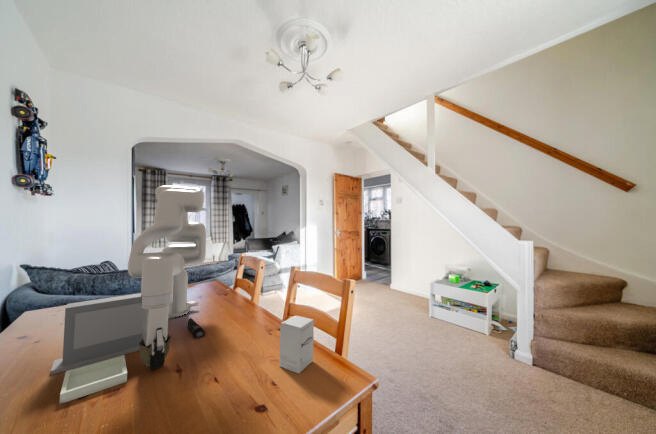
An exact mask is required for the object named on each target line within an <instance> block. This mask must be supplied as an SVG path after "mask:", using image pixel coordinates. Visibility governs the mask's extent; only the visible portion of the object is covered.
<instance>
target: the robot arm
mask: <svg viewBox="0 0 656 434" xmlns="http://www.w3.org/2000/svg"><path fill="white" fill-rule="evenodd" d="M154 191H155V192H154V194H155V198H156V200H157V202H156V207H155V212H154V218H153V223H152V224H151V226H149V227H147V228H146V229H145V230H144V231H142V232H141V233H140V234H139V235H138V236H137V237H136V238H135V239H134V241H133V243H132V246H131V249H130V252H129V253H130V254H129V256H128V257H129V258H128V261H127V262H128V263H127V272H128V275H129V276H130V277H132V278H135V279H141V288H140V289H141V291H140V293H141V308H144V316H143V329H142V337H143V341H144V343H145V345H146V346H149V345H150V344H151V345H152V348H151V354H152V355H150V370H149V371H153V370H156V369H160V368H163V367H164V365H165V359H164V354H165V351H164V341H166V340H167V335H168V334H169V319H174V318H175V317H176V318H180V317H183V316H185V315H184V314H186V315H188V314H189V313H190V312H191V309H192V307H197V306H199V302H198V301H188V283H189V282H188V281H189V279H188V278H189V274H188V271H187V270H186V269H185V268H184V267H185V265H186V266H187V265H201V264H202V263H204V262H205V260H206V254H207V253H206V252H207V251H206V250H207V249H206V246H207V245H206V244H207V243H206V242H207V231H206V230H207V229H206V226H205V224H204V223H202V222H197V221H195V222H194V221H189V219H188V217H189V213H200V212H201V211H202V210H203V207H204V202H205V194H204V190H203V189H202V188H199V187H190V186H189V187H188V186H180V185H160V186H158V187H156V189H155V190H154ZM164 238H165V239H166V240H167V242H169V243H175V244H170V245H167V246H165V247H164V248H163V249H162V251H161V252H146V253H145V252H144V251H145V249H146V248H147V247H148V246H149V245H151V244H152V243H155V242H156V241H159V240H161V239H164ZM188 243H189V244H188ZM192 243H193V244H192ZM189 311H190V312H189ZM188 312H189V313H188ZM187 313H188V314H187ZM182 315H183V316H182ZM179 316H180V317H179ZM154 340H157V342H154V343H153V341H154ZM156 344H157V347H155V348H154V345H156Z"/></svg>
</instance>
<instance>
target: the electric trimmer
mask: <svg viewBox="0 0 656 434" xmlns="http://www.w3.org/2000/svg"><path fill="white" fill-rule="evenodd" d="M186 325H187V329H188V331H190V332H192V334H193V336H192V337H193V339H197V340H198V339H200V338H204V337H205V336H206V332H205V330H204V328H203V327H201V326H200V324H198V323H197V322H196V321H195V320H194V319H193V318H192V317H191V318H190V317H189V318H188V320H187V322H186Z"/></svg>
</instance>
